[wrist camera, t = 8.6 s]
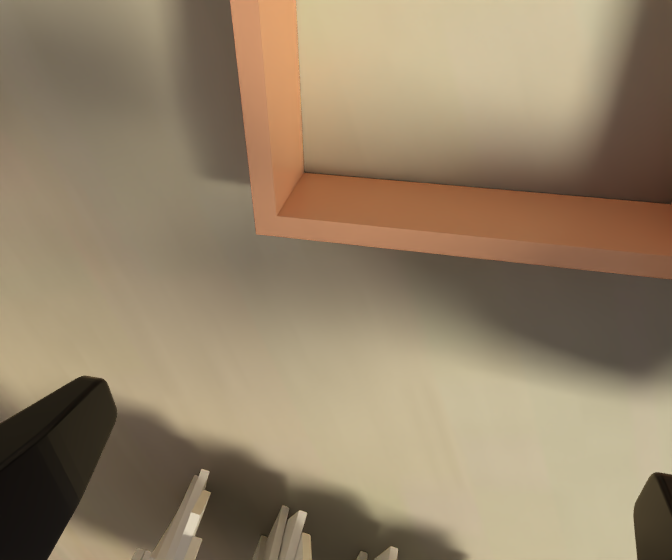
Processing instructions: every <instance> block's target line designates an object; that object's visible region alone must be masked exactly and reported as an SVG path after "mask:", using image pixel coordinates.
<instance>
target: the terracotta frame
mask: <svg viewBox="0 0 672 560" xmlns="http://www.w3.org/2000/svg"><path fill="white" fill-rule="evenodd" d="M230 5H231V14H232V23H233V31H234V40H235V49H236V58H237V67H238V76H239V85H240V94H241V103H242V112H243V121H244V130H245V139H246V148H247V157H248V165H249V174H250V183H251V192H252V201H253V210H254V219H255V228H256V234H259V235H268V236H277V237H286V238H295V239H305V240H314V241H323V242H332V243H341V244H350V245H360V246H369V247H378V248H387V249H396V250H405V251H415V252H424V253H433V254H442V255H451V256H460V257H470V258H479V259H488V260H497V261H506V262H515V263H525V264H534V265H543V266H552V267H561V268H570V269H580V270H589V271H598V272H607V273H616V274H625V275H635V276H644V277H653V278H662V279H671V280H672V202H671V204H663V203H651V202H639V201H628V200H616V199H604V198H593V197H581V196H569V195H558V194H546V193H534V192H523V191H511V190H500V189H488V188H476V187H465V186H453V185H441V184H430V183H418V182H406V181H395V180H383V179H371V178H360V177H348V176H336V175H325V174H313V173H304V159H303V138H302V118H301V97H300V76H299V56H298V35H297V14H296V0H230Z"/></svg>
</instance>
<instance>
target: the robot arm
mask: <svg viewBox="0 0 672 560" xmlns="http://www.w3.org/2000/svg"><path fill="white" fill-rule="evenodd" d="M116 417H117V408H116V405H115V402H114V400H113V397H112V394H111V392H110V389H109V386H108V384H107V382H106V381H105V380H104V379H102V378H97V377H91V376H81V377H78V378H76V379H75V380H73V381H71V382H70V383H68V384H66V385H65V386H63V387H61V388H59V389H58V390H56V391H54V392H53V393H51V394H49V395H48V396H46V397H44V398H43V399H41V400H39V401H38V402H36V403H34V404H32V405H31V406H29V407H27V408H26V409H24V410H22V411H21V412H19V413H17V414H16V415H14V416H12V417H10V418H9V419H7V420H5V421H4V422H2V423H0V560H47V559H48V557H49V556H50V554H51V552H52V550H53V549H54V547H55V545H56V543H57V542H58V540H59V538H60V536H61V534H62V533H63V531H64V529H65V527H66V526H67V524H68V522H69V520H70V518H71V517H72V515H73V513H74V511H75V509H76V508H77V506H78V504H79V502H80V500H81V498H82V496H83V494H84V492H85V490H86V487H87V485H88V483H89V481H90V478H91V476H92V474H93V472H94V469H95V467H96V465H97V463H98V460H99V458H100V456H101V453H102V451H103V449H104V447H105V444H106V442H107V440H108V438H109V435H110V433H111V431H112V429H113V426H114V424H115V421H116ZM634 528H635V539H636V550H637V560H672V475H671V474H665V473H659V472H655V473H653V474H652V475H651V476H650V477H649V478H648V480H647V482H646V484H645V486H644V488H643V489H642V491H641V493H640V495H639V497H638V499H637V500H636V503H635V506H634Z"/></svg>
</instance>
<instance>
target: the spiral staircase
mask: <svg viewBox="0 0 672 560" xmlns="http://www.w3.org/2000/svg"><path fill="white" fill-rule="evenodd" d="M209 472H210V471H207V470H204V469H201V471H200V474H199V476H197V475H194V477H193V479H192V481H191V483H190V485H189V488H188V490H187V492H186V494H185V496H184V498H183V501H182V503H181V505H180V507H179V509H178V511H177V513H176V515H175V516H174V518H173V520H172V521H171V523H170V525H169V526H168V528H167V529H166V531H165V533H164V534H163V536H162V538H161V539H160V541H159V543H158V544H157V546H156V548H155V549H154V551H153V552H151V551H148V550H146V551H145V550H143V549H140V548H137V549H136V551H135V553H134V556H133V558H132V560H195V559H196V556H197V553H198V551H199V548H200V545H201V542H202V539H201V538H198V537H195V535H196V532H197V529H198V526H199V524H200V521H201V518H202V516H203V513H204V510H205V508H206V505H207V502H208V499H209V497H210V494H211V492H209V491H206V490H205V488H206V484H207V480H208V476H209ZM288 512H289V507H286V506H284V505H282V507H281V510H280V512H279V514H278V516H277V519H276V521H275V523H274V525H273V528H272V530H271V532H270V534H269V537H266V536H263V535H261V536H260V539H259V542H258V545H257V548H256V550H255V553H254V556H253V559H252V560H312V554H311V535H309V534H306V533H303V532H302V530H303V526H304V523H305V519H306V515H307V512H304V511H301V510H299V511H297V512H296V513H295V514H294V515H293V516H291V517H290V518H289V519H288V521H287V516H288ZM286 521H287V525H286ZM285 525H286V528H285ZM284 529H285V531H284ZM301 533H302V535H301ZM283 534H284V535H283ZM267 538H268V539H267ZM144 552H145V553H144ZM397 554H398V548H395V547H392V546H390V547H389V548H388V549H386V550H385V551H384V552H383V553H381V554H380V555H379V556H378V557H376V558H375V559H374V560H397ZM356 560H367V553H366V552H363V551H360V553H359V555H358V557H357V559H356Z"/></svg>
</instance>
